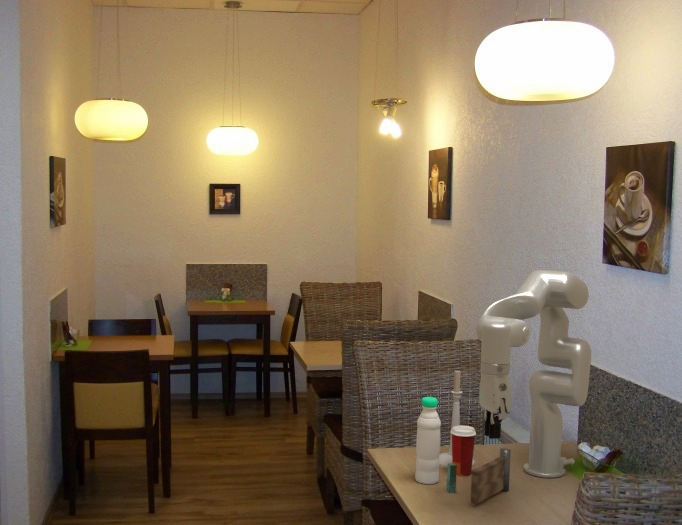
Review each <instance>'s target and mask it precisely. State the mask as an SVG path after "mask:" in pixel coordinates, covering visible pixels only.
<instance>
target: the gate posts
mask: <svg viewBox="0 0 682 525" xmlns="http://www.w3.org/2000/svg"><path fill="white" fill-rule="evenodd" d="M511 450H512V449H510V448H507V447H502V448H499V457H500V458H505V462H504V484H503V490H501V491H500V492H502V493H508V492H509V491H510V479H511V478H510V475H511V452H512V451H511ZM456 473H457V465H456V464H455V463H447V468H446V491H447V492H448V493H449V494H453V493H456V492H457V475H456Z"/></svg>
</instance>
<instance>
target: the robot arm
mask: <svg viewBox="0 0 682 525" xmlns="http://www.w3.org/2000/svg"><path fill="white" fill-rule="evenodd" d="M589 295H590V294H589V289H588V285H587V283H585V281H583V280H582V279H580V277H578V276H577V275H575V274H573V273H572V272H568V271H561V270H560V271H559V270H550V269H549V270H548V269H537V270H533V271H531V272H530V273H529V274H528V275H527V276H526V278H525V280H524V281H523V282H522V284H521V285H520V287H519V288H518V290H517V291H516V292H515V293H514V294H512V295H509V296H506V297H504V298H502V299H499V300H497V301H495V302H493V303H491V304H490V305H489V306H488V307H487V308H486V309H485V311H484V312H483V313H482V314H481V316H480V318H479V320H478V321H477V325H476V328H475V330H476V332H475V333H476V336H477V337H476V338H477V339H478V340H479V341H481V350H480V351H481V352H480V375H481V376H480V383H479V391H478V392H479V393H478V394H479V395H478V402H479V406H480V407H481V409H482V411H483V419H484V432H483V433H484V434H483V435H484V436H486V437H488V438H489V439H490V440H492V439H495V440H496V439H500V438H501V433H502V423H503V420H506V419H507V416H506V415H507V414H510V413H511V411H512V409H511V408H512V391H511V390H512V389H511V387H512V386H511V380H510V370H511V369H510V365H511V348H521V347H522V346H525V345H526V344H527V343H528V342H529V340H530V337H531V329H530V326H529V324H528V323H527V322H526V321H524V320H528V319H532V318H535V317H536V316H538V315H539V318H540V322H539V323H540V327H539V336H538V345H537V360H538V362H539V363H540V364H541V365H544V366H548V367H553V368H561V369H566V370H567V369H568V370H571V373H568V372H561V371H555V370H548V369H547V370H546V369H542V370H536V371H534V372H533V373H532V374H530V377H529V381H528V389H529V390H528V392H529V398H530V422H529V423H530V426H529V427H530V428H529V447H528V448H529V449H528V451H529V453H528V462H526V463H524V464H523V468H522V469H523V471H524V472H525V473H526V474H528V475H531V476H534V477H538V478H546V479H547V478H548V479H550V478H560V477H563V476H564V475H566V469H565V468H564V467H566V466H574V465H575V462H576V461H575V459H574V458H567V457H566V456H562V454H561V453H562V433H563V432H562V431H563V414H562V411H561V409H560V407H559V406H558V405H564V406H571V407H582V406H583V405H584V404H585V403H586V401H587V397H588V391H589V383H590V374H591V373H590V372H591V366H592V365H591V363H592V349H591V346H590V344H589V342H588V341H586V340H584V339H583V338H578V337H577V338H576V337H569V327H570V325H569V324H570V321H569V317H568V316H567V314H566V312H565V310H564V309H570V310H571V309H572V310H581V309H583V308H584V307H585V306H586V305H587V303H588V302H589V301H588V300H589V297H590V296H589Z"/></svg>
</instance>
